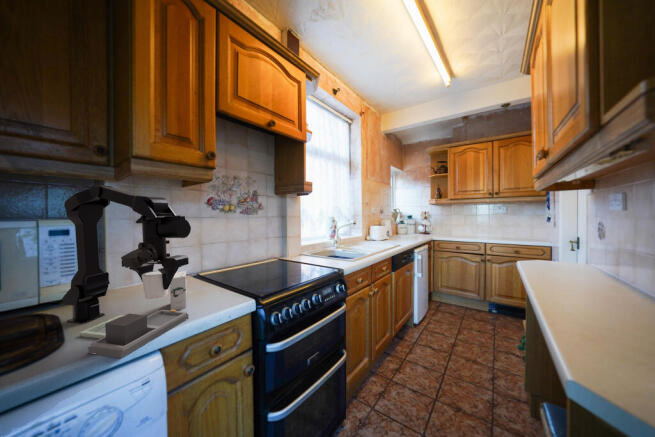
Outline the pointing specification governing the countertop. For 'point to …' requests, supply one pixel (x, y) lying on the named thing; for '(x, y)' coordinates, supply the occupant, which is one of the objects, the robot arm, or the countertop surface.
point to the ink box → (178, 291)
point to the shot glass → (153, 285)
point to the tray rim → (90, 332)
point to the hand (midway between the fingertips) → (156, 288)
